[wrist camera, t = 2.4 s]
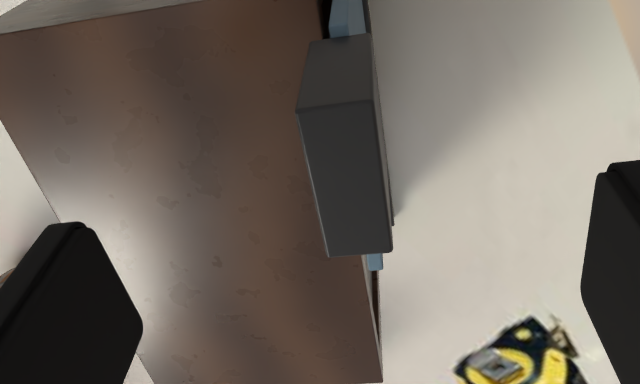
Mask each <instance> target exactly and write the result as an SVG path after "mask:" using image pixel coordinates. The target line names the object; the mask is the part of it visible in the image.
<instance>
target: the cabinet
mask: <svg viewBox="0 0 640 384" xmlns="http://www.w3.org/2000/svg"><path fill="white" fill-rule="evenodd" d="M362 5H363V13H364V21H365V29H366V33H370V34H371V36H372V31H371V22H370V14H369V5H368V0H362ZM331 6H332V0H27V1H25V2H23V3H22V4H20V5H18V6H17V7H15V8H13V9H11V10H10V11H8V12H6V13H4V14H3V15H1V16H0V120H1V122H2V124H3V125H4V127H5V129H6V130H7V132H8V134H9V136H10V137H11V139H12V141H13V142H14V144H15V146H16V148H17V149H18V151H19V153H20V154H21V156H22V158H23V160H24V161H25V163H26V165H27V166H28V168H29V170H30V172H31V173H32V175H33V177H34V178H35V180H36V182H37V184H38V185H39V187H40V189H41V190H42V192H43V194H44V196H45V197H46V199H47V201H48V202H49V204H50V206H51V208H52V209H53V211H54V213H55V214H56V216H57V218H58V219H59V221H60V223H66V222H75V221H79V222H82V223H84V224H85V225H86V226H87V228H92V229H93V230H94V231H95V233H96V234H97V236H98V238H99V240H100V242H101V243H102V245H103V247H104V249H105V251H106V253H107V255H108V257H109V258H110V260H111V262H112V264H113V266H114V268H115V270H116V272H117V273H118V275H119V277H120V279H121V281H122V283H123V285H124V287H125V288H126V290H127V292H128V294H129V296H130V298H131V300H132V302H133V303H134V305H135V307H136V309H137V311H138V313H139V315H140V317H141V319H142V322H143V335H142V338H141V340H140V343H139V345H138V348H137V350H136V353H137V355H138V357H139V358H140V360H141V362H142V363H143V365H144V367H145V369H146V370H147V372H148V374H149V375H150V377H151V379H152V380H153V382H154V384H364V383H382V382H383V366H382V341H381V316H380V291H379V270H374V271H369V269H368V263H367V257H366V255H356V256H344V257H333V258H329V257H328V256H327V255H326V251H325V247H324V242H323V238H322V233H321V229H320V224H319V220H318V216H317V211H316V207H315V202H314V198H313V193H312V189H311V184H310V180H309V175H308V171H307V166H306V162H305V157H304V153H303V149H302V144H301V140H300V135H299V131H298V126H297V122H296V117H295V108H296V103H297V99H298V94H299V90H300V85H301V80H302V76H303V71H304V66H305V62H306V57H307V52H308V48H309V43H310V42H311V41H316V40H323V39H329V38H330V33H329V20H330V13H331ZM372 44H373V39H372ZM373 52H374V47H373ZM374 60H375V56H374ZM375 69H376V64H375ZM376 77H377V72H376ZM377 85H378V81H377ZM378 94H379V89H378ZM379 102H380V98H379ZM380 111H381V106H380ZM381 119H382V114H381ZM382 127H383V123H382ZM383 136H384V131H383ZM384 144H385V140H384ZM385 152H386V148H385ZM386 161H387V156H386ZM387 173H388V165H387ZM388 186H389V199H390V213H391V226H394V215H393V207H392V198H391V190H390V182H389V173H388Z"/></svg>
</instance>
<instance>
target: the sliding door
mask: <svg viewBox="0 0 640 384" xmlns="http://www.w3.org/2000/svg"><path fill="white" fill-rule="evenodd" d="M329 33H330V38H329V39H323V40H316V41H311V42H310V43H309V48H308V52H307V57H306V62H305V66H304V71H303V76H302V80H301V85H300V90H299V94H298V99H297V103H296V108H295V117H296V122H297V126H298V131H299V135H300V140H301V144H302V149H303V153H304V157H305V162H306V166H307V171H308V175H309V180H310V184H311V189H312V193H313V198H314V202H315V207H316V211H317V216H318V220H319V224H320V229H321V233H322V238H323V242H324V247H325V251H326V255H327V256H328V257H329V258H333V257H344V256H356V255H366V257H367V263H368V269H369V271H374V270H382V269H383V255H382V253H390V252H392V250H393V240H392V226H391V213H390V199H389V186H388V173H387V161H386V152H385V144H384V136H383V127H382V119H381V111H380V102H379V94H378V85H377V77H376V69H375V60H374V52H373V44H372V36H371V34H370V33H366V29H365V21H364V13H363V5H362V0H332V6H331V13H330V20H329Z"/></svg>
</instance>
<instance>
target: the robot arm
mask: <svg viewBox="0 0 640 384" xmlns="http://www.w3.org/2000/svg"><path fill="white" fill-rule="evenodd" d="M580 287H581V296H582V300H583V303H584V306H585V308H586V310H587V312H588V314H589V316H590V319H591V321H592V323H593V325H594V327H595V329H596V332H597V334H598V336H599V338H600V340H601V342H602V344H603V347H604V349H605V351H606V353H607V355H608V357H609V360H610V362H611V364H612V366H613V368H614V370H615V372H616V375H617V377H618V379H619V381H620V383H621V384H640V160H636V161H626V162H617V163H612V164H610V165H609V167H608V168H607V172H603V173H599V174H598V175H597V178H596V183H595V189H594V196H593V203H592V210H591V216H590V223H589V230H588V237H587V244H586V250H585V257H584V264H583V271H582V278H581V286H580ZM142 335H143V322H142V319H141V317H140V315H139V313H138V311H137V309H136V307H135V305H134V303H133V302H132V300H131V298H130V296H129V294H128V292H127V290H126V288H125V287H124V285H123V283H122V281H121V279H120V277H119V275H118V273H117V272H116V270H115V268H114V266H113V264H112V262H111V260H110V258H109V257H108V255H107V253H106V251H105V249H104V247H103V245H102V243H101V242H100V240H99V238H98V236H97V234H96V233H95V231H94V230H93V229H92V228H87V226H86V225H85V224H84V223H82V222H79V221H75V222H66V223H57V224H51V225H48V226H47V227H46V228H45V229H44V231H43V232H42V233H41V235H40V236H39V237H38V239H37V240H36V241H35V243H34V244H33V245H32V247H31V248H30V249H29V251H28V252H27V253H26V255H25V256H24V257H23V259H22V260H21V261H20V263H19V264H18V265H17V266H16V268H15V269H14V270H13V272H12V273H11V274H10V276H9V277H8V278H7V280H6V281H5V282H4V284H3V285H2V286H1V288H0V384H123V382H124V379H125V377H126V375H127V372H128V370H129V367H130V365H131V362H132V360H133V358H134V355H135V353H136V350H137V348H138V345H139V343H140V340H141V338H142Z"/></svg>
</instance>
